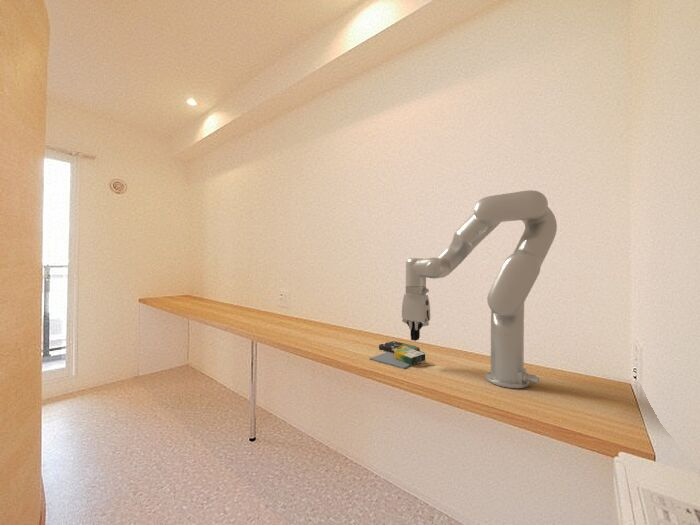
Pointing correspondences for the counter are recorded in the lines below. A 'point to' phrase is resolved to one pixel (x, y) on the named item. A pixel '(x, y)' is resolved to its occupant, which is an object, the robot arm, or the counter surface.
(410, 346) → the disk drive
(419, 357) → the crayon box
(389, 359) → the slate pad
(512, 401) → the counter surface
